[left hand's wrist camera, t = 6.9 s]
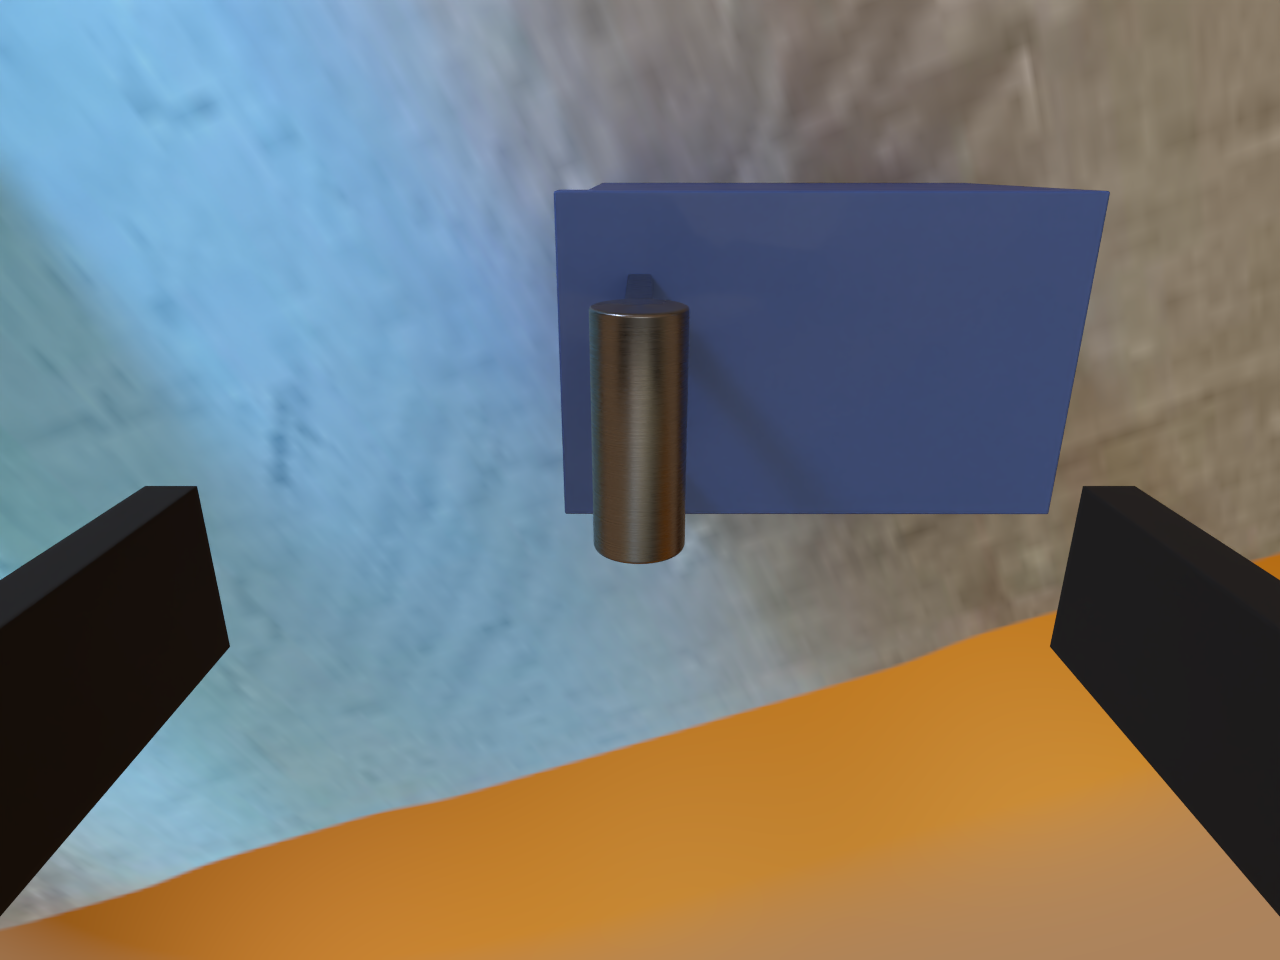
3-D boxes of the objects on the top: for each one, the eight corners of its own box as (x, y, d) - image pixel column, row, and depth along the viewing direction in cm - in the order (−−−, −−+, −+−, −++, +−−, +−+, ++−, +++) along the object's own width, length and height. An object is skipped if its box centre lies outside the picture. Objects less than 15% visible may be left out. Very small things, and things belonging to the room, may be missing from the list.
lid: (568, 500, 28) (536, 646, 20) (557, 189, 25) (513, 202, 16) (1031, 500, 28) (1202, 647, 20) (1089, 189, 25) (1328, 203, 16)
